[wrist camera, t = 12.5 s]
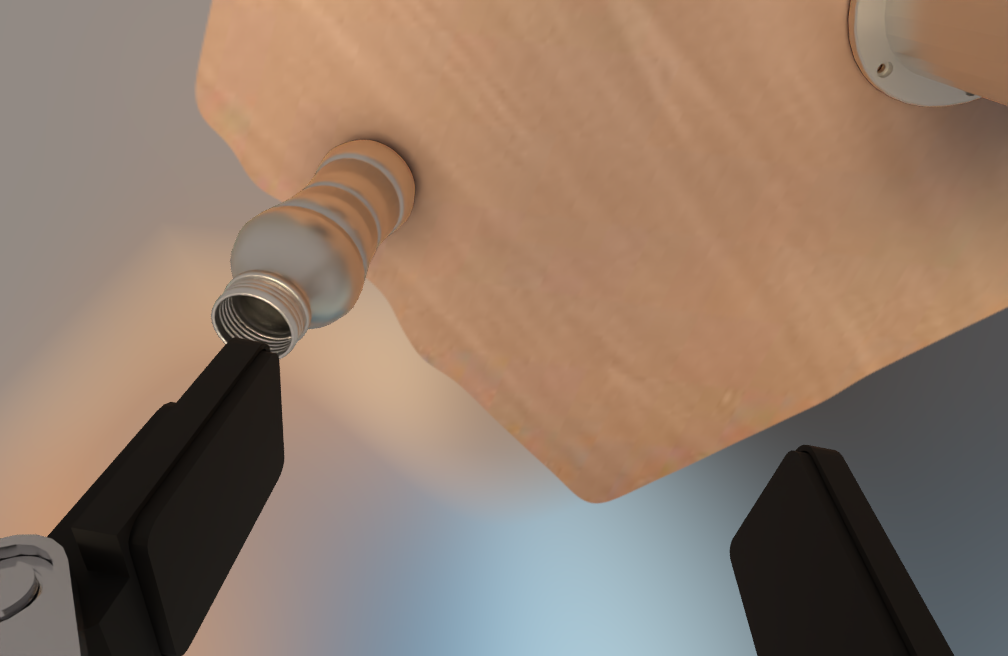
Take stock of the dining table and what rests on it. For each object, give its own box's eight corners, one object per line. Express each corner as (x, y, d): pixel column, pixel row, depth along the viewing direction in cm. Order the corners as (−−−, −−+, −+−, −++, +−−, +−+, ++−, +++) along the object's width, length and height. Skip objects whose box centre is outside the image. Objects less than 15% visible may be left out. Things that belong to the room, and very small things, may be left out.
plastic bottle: (391, 236, 44) (289, 410, 28) (314, 181, 42) (154, 331, 26) (439, 173, 41) (357, 325, 24) (358, 110, 39) (209, 228, 23)
